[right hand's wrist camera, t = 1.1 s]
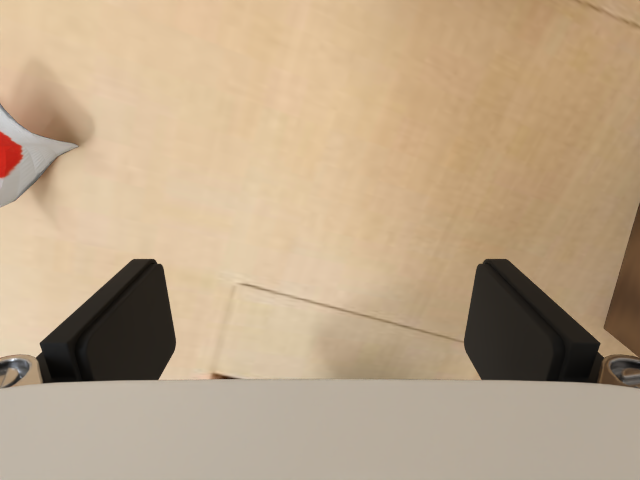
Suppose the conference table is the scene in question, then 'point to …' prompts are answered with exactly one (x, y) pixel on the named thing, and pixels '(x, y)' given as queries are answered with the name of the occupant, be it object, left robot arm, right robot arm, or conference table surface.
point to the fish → (23, 157)
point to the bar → (627, 296)
